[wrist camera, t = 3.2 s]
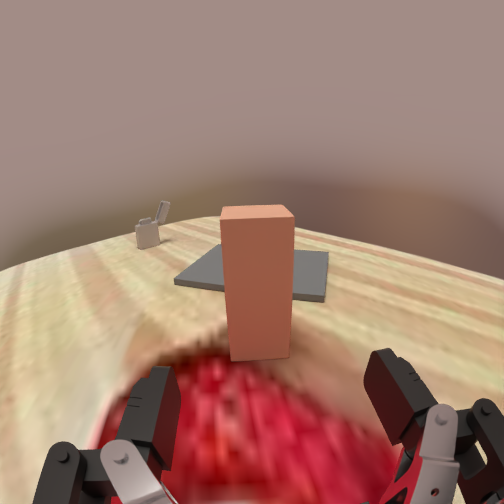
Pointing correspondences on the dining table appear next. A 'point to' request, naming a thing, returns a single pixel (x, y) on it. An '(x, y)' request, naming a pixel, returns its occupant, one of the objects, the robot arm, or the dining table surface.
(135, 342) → the dining table surface
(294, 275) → the mat
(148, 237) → the lighter
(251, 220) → the block
